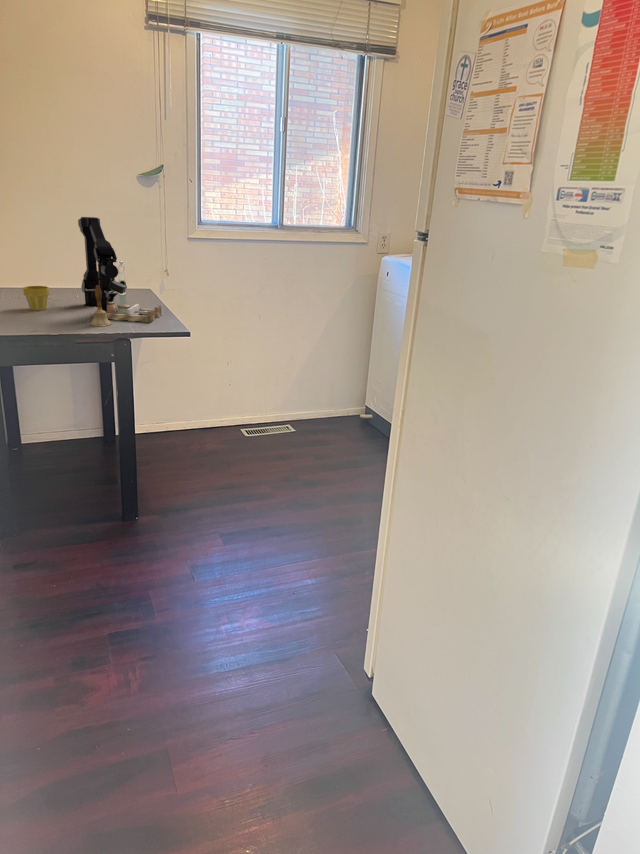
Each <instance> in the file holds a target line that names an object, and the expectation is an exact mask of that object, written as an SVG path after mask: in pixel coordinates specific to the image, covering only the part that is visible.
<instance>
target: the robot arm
mask: <svg viewBox="0 0 640 854" xmlns="http://www.w3.org/2000/svg"><path fill="white" fill-rule="evenodd" d="M77 221H78V222H77V223H78V228H79V230H80V231H79V232H80V233H81V234H82V236H83V237H84V247H85V248H84V249H85V263H86V270H85V272H84V274H83V277H82V278H83V279H82V283H81V292H83V293H84V301H85V303H84V304H83V305H84V306H88V307H97V299H96V297H95V289H96V285H99V286H100V289H101V292H102V298H101V306H102V310H103V311H105V312H107V301H114V299H115V297H116V296H117V295H119V294H120V295H121V294H122V295H123V294H125V292H126V290H127V288H128V286H127V282H126V281H125V280H121V281H116V277H118V274H119V269H118V267H117V266H116V265H114V263H117V259H118V256H117V255H116V251H115V249H114V248H113V246H112V245H111V243H110V242H109V241H108V240H107V239H106V237H105V234H104V232H103V230H102V225H101V219H100V218H98V217H93V216H92V217H91V216H81V217H80V218H79V219H78V220H77Z"/></svg>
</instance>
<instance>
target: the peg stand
mask: <svg viewBox="0 0 640 854" xmlns="http://www.w3.org/2000/svg"><path fill="white" fill-rule="evenodd" d="M131 306H132V305H131ZM147 312H148V311H140V304H139V303H136V304H133V306H132V307H130V308H129V309H127V313H128V315H141V314H140V313H143V314H147Z"/></svg>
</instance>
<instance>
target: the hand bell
mask: <svg viewBox="0 0 640 854" xmlns="http://www.w3.org/2000/svg"><path fill="white" fill-rule="evenodd" d="M95 297H96V299H97V306H96V308H97V309H96V310H95V311H94V313H93V319H92V321H91V322H90V326H92V325H93V326H92V327H103V326H102V325H109V326H111V325H112V322H111V321H110V320H108V319H107V316H106V312H105V311H103V310H102V306H101V298H102V292H101V289H100V286H99V285H96V289H95ZM110 324H111V325H110Z"/></svg>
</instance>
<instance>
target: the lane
mask: <svg viewBox="0 0 640 854" xmlns="http://www.w3.org/2000/svg"><path fill="white" fill-rule="evenodd" d="M139 308H140V307H139ZM140 311H148V312H147V314H143V313H140V314H139V315H126V314H117V313H116V312H117V306H115V314H112V313H106V316H107V319H117V320H116V321H121V320H128V321H127V322H135V321H142V322H141V323H150V322H151V323H152V322H154V321H155V320H156V318H155V317H158V318H160V317H161V316H162V305H161V304H157V306H154V308H153V309H152V308H140ZM141 314H143V315H141ZM159 316H160V317H159Z"/></svg>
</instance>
